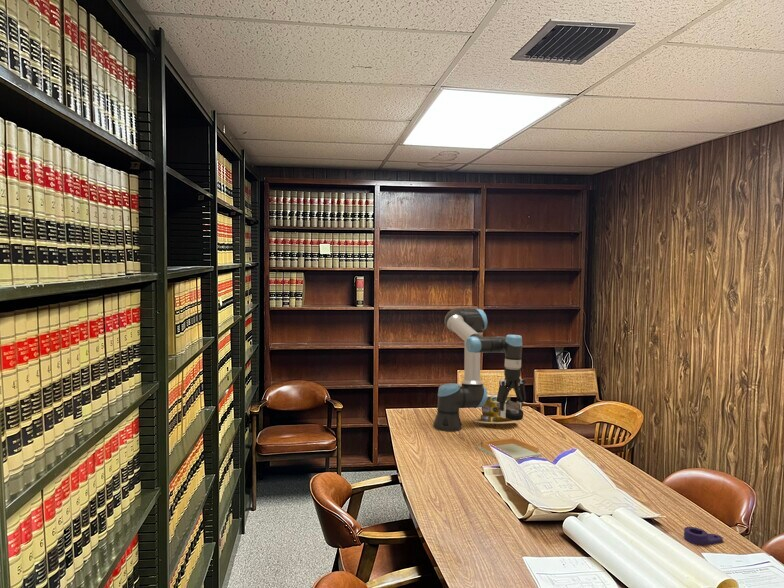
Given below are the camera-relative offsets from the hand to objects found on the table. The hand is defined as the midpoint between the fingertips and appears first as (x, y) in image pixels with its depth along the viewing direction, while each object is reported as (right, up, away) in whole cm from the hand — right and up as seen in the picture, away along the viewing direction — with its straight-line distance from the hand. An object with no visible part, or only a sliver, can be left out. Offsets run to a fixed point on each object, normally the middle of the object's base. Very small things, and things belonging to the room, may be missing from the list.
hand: (510, 416), depth 244 cm
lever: (+42, -21, -80) cm, 93 cm away
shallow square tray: (-1, -17, 0) cm, 17 cm away
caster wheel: (+1, -1, -1) cm, 1 cm away
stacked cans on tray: (+3, -16, +51) cm, 54 cm away
